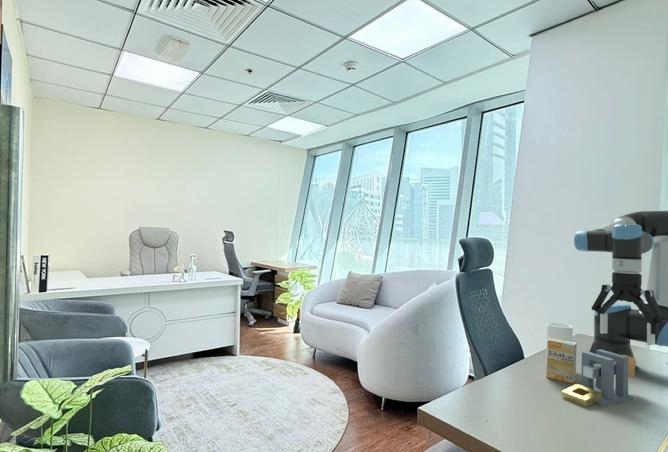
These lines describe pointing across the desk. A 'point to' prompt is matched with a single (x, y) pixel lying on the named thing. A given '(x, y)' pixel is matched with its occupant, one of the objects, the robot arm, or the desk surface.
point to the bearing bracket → (608, 377)
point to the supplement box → (561, 360)
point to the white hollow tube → (558, 333)
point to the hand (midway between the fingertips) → (626, 338)
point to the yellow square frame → (575, 390)
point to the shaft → (595, 369)
